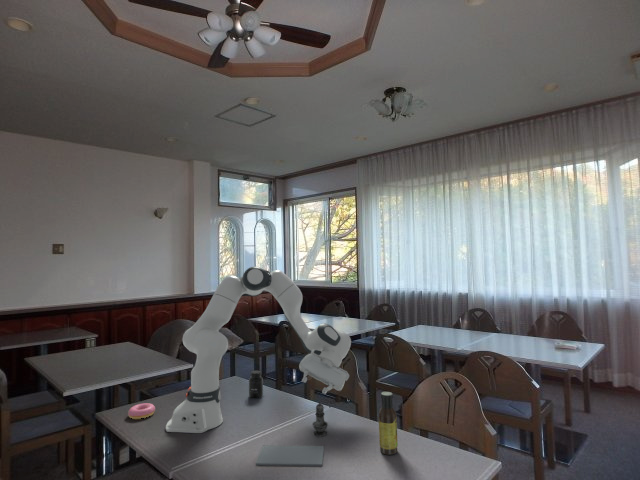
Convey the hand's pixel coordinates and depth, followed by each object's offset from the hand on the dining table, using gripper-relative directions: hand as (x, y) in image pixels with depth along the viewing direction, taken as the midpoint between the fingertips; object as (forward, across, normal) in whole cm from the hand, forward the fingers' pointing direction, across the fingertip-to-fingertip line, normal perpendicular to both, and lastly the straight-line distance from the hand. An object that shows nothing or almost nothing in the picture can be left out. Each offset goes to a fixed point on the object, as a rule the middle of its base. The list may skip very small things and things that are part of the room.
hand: (313, 386), depth 158 cm
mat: (+28, -7, +1) cm, 29 cm away
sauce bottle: (+10, -36, +3) cm, 37 cm away
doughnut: (+35, +64, -30) cm, 79 cm away
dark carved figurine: (+11, -10, -8) cm, 17 cm away
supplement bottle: (-2, +30, -36) cm, 47 cm away
